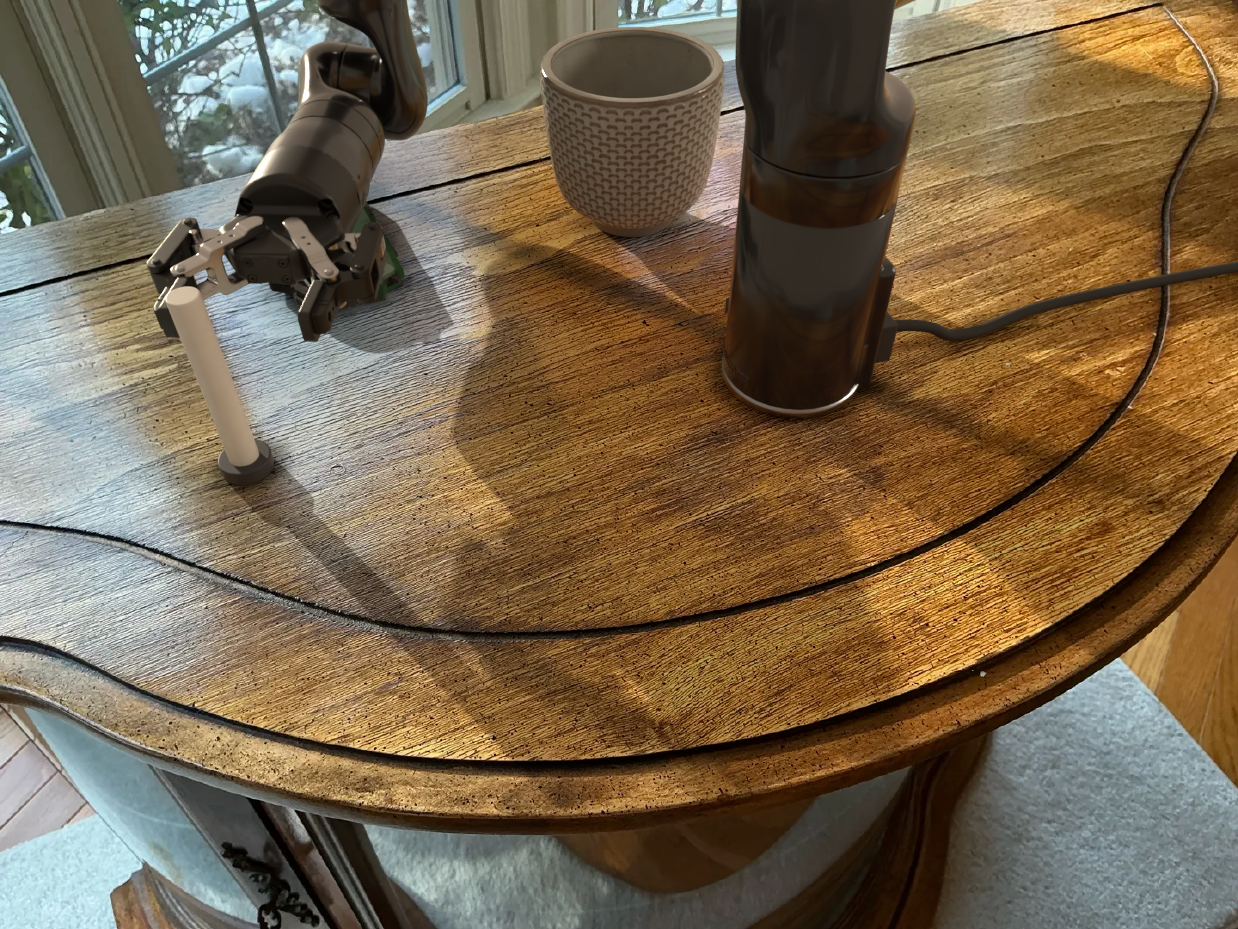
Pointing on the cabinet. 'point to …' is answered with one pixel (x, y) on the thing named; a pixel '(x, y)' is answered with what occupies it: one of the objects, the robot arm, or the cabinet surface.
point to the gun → (390, 275)
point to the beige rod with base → (218, 390)
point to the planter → (632, 124)
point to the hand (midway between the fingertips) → (237, 328)
